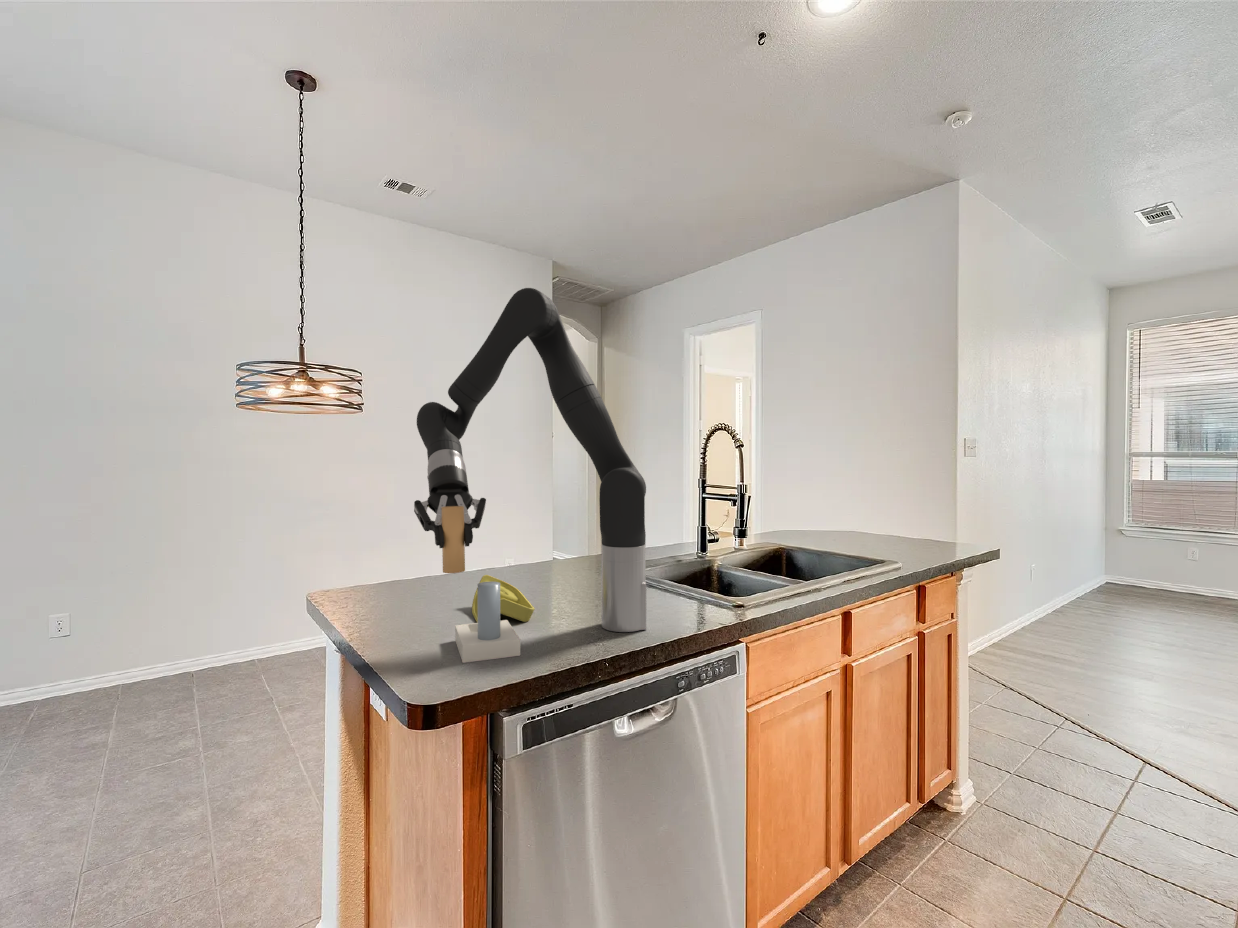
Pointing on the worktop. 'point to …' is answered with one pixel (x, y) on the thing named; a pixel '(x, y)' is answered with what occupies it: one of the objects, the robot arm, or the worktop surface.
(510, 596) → the plastic component
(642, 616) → the robot arm
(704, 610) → the worktop surface
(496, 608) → the housing
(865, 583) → the worktop surface
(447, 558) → the tan round-top capsule
